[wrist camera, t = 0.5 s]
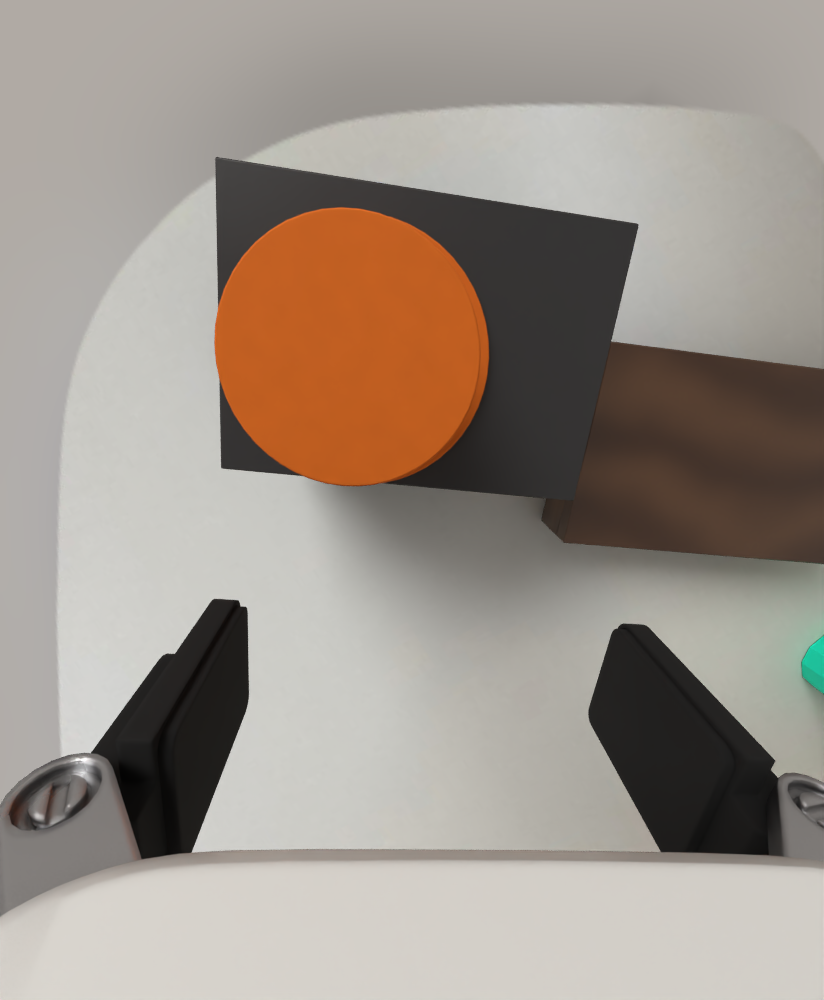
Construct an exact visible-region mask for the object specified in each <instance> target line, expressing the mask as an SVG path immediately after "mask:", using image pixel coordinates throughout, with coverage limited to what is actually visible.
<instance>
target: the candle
mask: <svg viewBox="0 0 824 1000" xmlns="http://www.w3.org/2000/svg"><path fill="white" fill-rule="evenodd" d="M802 675H803V677H804V678H805V679H806V680H807V681H808V682H809V683H810V684H811V685H812V686H813V687H815V688H816V689H817V690H819V691H820V692H821V693H823V694H824V636H823V637H821V638H820V639H819V640H818V641H817V642H815V643H814V644H813V645H812V646H810V648H809V649H808V651H807V653H806V655H805V657H804V659H803V661H802Z"/></svg>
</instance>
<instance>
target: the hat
mask: <svg viewBox="0 0 824 1000" xmlns="http://www.w3.org/2000/svg"><path fill="white" fill-rule="evenodd" d="M215 355H216V364H217V369H218V374H219V378H220V382H221V385H222V388H223V391H224V393H225V396H226V399H227V401H228V403H229V405H230V407H231V409H232V411H233V413H234V415H235V416H236V418H237V419H238V421H239V423H240V424H241V426H242V427H243V429H244V430H245V431H246V432H247V434H248V435H249V436H250V437H251V438H252V440H253V441H254V442H255V443H256V444H257V445H258V446H259V447H260V448H261V449H262V450H263V451H264V452H266V453H267V454H268V455H269V456H270V457H272V458H273V459H274V460H276V461H277V462H278V463H280V464H281V465H283V466H285V467H287V468H288V469H290V470H292V471H294V472H295V473H298V474H300V475H302V476H305V477H307V478H310V479H313V480H316V481H320V482H323V483H327V484H333V485H340V486H366V485H375V484H379V483H386V482H390V481H394V480H399V479H401V478H404V477H407V476H410V475H412V474H414V473H416V472H418V471H420V470H422V469H424V468H426V467H428V466H429V465H431V464H432V463H434V462H435V461H436V460H438V459H439V458H441V457H442V456H443V455H444V454H445V453H446V452H447V451H448V450H449V449H451V448H452V446H453V445H454V444H455V443H456V442H457V441H458V440H459V438H460V437H461V436H462V435H463V433H464V432H465V430H466V429H467V427H468V426H469V424H470V423H471V421H472V419H473V417H474V415H475V413H476V411H477V409H478V407H479V404H480V401H481V398H482V395H483V393H484V389H485V384H486V380H487V375H488V365H489V339H488V333H487V326H486V321H485V317H484V314H483V310H482V307H481V304H480V301H479V299H478V297H477V294H476V292H475V290H474V288H473V286H472V284H471V282H470V281H469V279H468V277H467V275H466V274H465V272H464V271H463V269H462V268H461V267H460V266H459V264H458V263H457V262H456V260H455V259H454V258H453V257H452V256H451V255H450V254H449V253H448V252H447V251H446V250H445V249H444V248H443V247H442V246H441V245H440V244H439V243H438V242H436V241H435V240H434V239H432V238H431V237H430V236H429V235H427V234H426V233H424V232H423V231H421V230H419V229H417V228H415V227H414V226H412V225H410V224H408V223H406V222H403V221H400V220H398V219H395V218H393V217H389V216H386V215H383V214H381V213H377V212H373V211H368V210H364V209H357V208H344V207H340V208H326V209H319V210H315V211H311V212H306V213H303V214H301V215H298V216H296V217H293V218H291V219H288V220H286V221H284V222H282V223H281V224H279V225H277V226H276V227H274V228H272V229H271V230H269V231H268V232H267V233H266V234H264V235H263V236H262V237H261V238H260V239H258V240H257V241H256V242H255V243H254V244H253V245H252V246H251V247H250V248H249V250H248V251H247V252H246V253H245V254H244V255H243V256H242V258H241V259H240V261H239V262H238V264H237V265H236V267H235V268H234V270H233V271H232V273H231V276H230V278H229V280H228V282H227V284H226V286H225V288H224V291H223V294H222V297H221V300H220V303H219V307H218V312H217V318H216V324H215Z"/></svg>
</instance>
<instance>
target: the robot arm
mask: <svg viewBox="0 0 824 1000" xmlns="http://www.w3.org/2000/svg"><path fill="white" fill-rule="evenodd" d="M248 699H249V675H248V613H247V608H246V607H240V603H239V601H238V600H224V599H213V600H212V601H211V603H210V604H209V605H208V607H207V608H206V610H205V611H204V613H203V614H202V616H201V617H200V618H199V620H198V621H197V623H196V624H195V626H194V627H193V629H192V630H191V631H190V633H189V634H188V636H187V637H186V639H185V640H184V642H183V643H182V645H181V646H180V647H179V649H178V650H177V652H176V653H175V654H165V655H163V656H162V657H161V658H160V659H159V661H158V662H157V663H156V665H155V666H154V667H153V669H152V670H151V672H150V673H149V674H148V676H147V677H146V678H145V680H144V681H143V682H142V684H141V685H140V687H139V688H138V689H137V691H136V692H135V693H134V695H133V696H132V698H131V699H130V700H129V702H128V703H127V704H126V706H125V707H124V709H123V710H122V711H121V713H120V714H119V715H118V717H117V718H116V719H115V721H114V722H113V724H112V725H111V726H110V728H109V729H108V730H107V732H106V733H105V735H104V736H103V737H102V739H101V740H100V741H99V743H98V744H97V746H96V747H95V748H94V750H93V751H92V752H91V753H80V754H73V755H68V756H65V757H62V758H59V759H56V760H53V761H51V762H49V763H47V764H45V765H43V766H41V767H39V768H37V769H36V770H34V771H33V772H31V773H30V774H29V775H27V776H26V777H25V778H23V779H22V780H21V781H19V782H18V783H17V784H16V785H15V786H14V788H13V789H11V791H10V792H9V793H8V794H7V795H6V796H5V798H4V799H3V801H2V803H1V804H0V1000H824V783H823V782H821V781H819V780H817V779H814V778H812V777H809V776H807V775H802V774H798V773H784V774H783V775H781V776H780V777H779V778H777V776H776V775H775V774H774V773H773V772H772V771H771V768H772V766H773V764H774V762H775V760H774V759H773V758H772V757H771V756H770V755H769V754H768V752H767V751H766V750H765V749H764V748H763V747H762V746H761V745H760V744H759V743H758V742H757V741H756V740H755V739H754V738H753V737H752V736H751V735H750V734H749V732H748V731H747V730H746V729H745V728H744V727H743V726H742V725H741V724H740V723H739V722H738V721H737V720H736V719H735V718H734V717H733V716H732V715H731V714H730V713H729V711H728V710H727V709H726V708H725V707H724V706H723V705H722V704H721V703H720V702H719V701H718V700H717V699H716V698H715V697H714V696H713V695H712V694H711V693H710V691H709V690H708V689H707V688H706V687H705V686H704V685H703V684H702V683H701V682H700V681H699V680H698V679H697V678H696V677H695V676H694V675H693V674H692V673H691V671H690V670H689V669H688V668H687V667H686V666H685V665H684V664H683V663H682V662H681V661H680V660H679V659H678V658H677V657H676V656H675V655H674V654H673V653H672V652H671V650H670V649H669V648H668V647H667V646H666V645H665V644H664V643H663V642H662V641H661V640H660V639H659V638H658V637H657V636H656V635H655V634H654V633H653V632H652V630H651V629H650V628H649V627H647V626H646V625H639V624H621V625H620V626H619V627H618V629H614V631H613V632H612V634H611V638H610V641H609V644H608V647H607V651H606V654H605V657H604V660H603V664H602V667H601V670H600V674H599V677H598V680H597V683H596V687H595V690H594V693H593V697H592V700H591V703H590V706H589V714H588V715H589V720H590V723H591V726H592V727H593V729H594V731H595V733H596V735H597V737H598V738H599V740H600V742H601V744H602V746H603V747H604V749H605V751H606V753H607V755H608V757H609V758H610V760H611V762H612V764H613V766H614V767H615V769H616V771H617V773H618V775H619V776H620V778H621V780H622V782H623V784H624V786H625V787H626V789H627V791H628V793H629V795H630V796H631V798H632V800H633V802H634V804H635V806H636V807H637V809H638V811H639V813H640V815H641V816H642V818H643V820H644V822H645V824H646V826H647V827H648V829H649V831H650V833H651V835H652V836H653V838H654V840H655V842H656V844H657V846H658V847H659V849H660V851H661V852H617V851H539V850H406V849H294V850H231V851H212V852H197V853H191V852H192V850H193V847H194V845H195V842H196V839H197V837H198V834H199V832H200V829H201V826H202V824H203V821H204V819H205V816H206V813H207V811H208V808H209V806H210V803H211V800H212V798H213V795H214V793H215V790H216V787H217V785H218V782H219V780H220V777H221V774H222V772H223V769H224V767H225V764H226V761H227V759H228V756H229V754H230V751H231V749H232V746H233V743H234V741H235V738H236V736H237V733H238V730H239V728H240V725H241V723H242V720H243V717H244V715H245V712H246V709H247V705H248Z"/></svg>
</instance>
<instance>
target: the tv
mask: <svg viewBox="0 0 824 1000" xmlns="http://www.w3.org/2000/svg"><path fill="white" fill-rule="evenodd" d="M340 207H344V208H357V209H364V210H368V211H373V212H377V213H381V214H383V215H386V216H389V217H393V218H395V219H398V220H400V221H403V222H406V223H408V224H410V225H412V226H414V227H415V228H417V229H419V230H421V231H423V232H424V233H426V234H427V235H429V236H430V237H431V238H432V239H434V240H435V241H436V242H438V243H439V244H440V245H441V246H442V247H443V248H444V249H445V250H446V251H447V252H448V253H449V254H450V255H451V256H452V257H453V258H454V259H455V260H456V262H457V263H458V264H459V266H460V267H461V268H462V269H463V271H464V272H465V274H466V275H467V277H468V279H469V281H470V282H471V284H472V286H473V288H474V290H475V292H476V294H477V297H478V299H479V301H480V304H481V307H482V310H483V314H484V317H485V321H486V326H487V333H488V339H489V365H488V375H487V380H486V384H485V389H484V393H483V395H482V398H481V401H480V404H479V407H478V409H477V411H476V413H475V415H474V417H473V419H472V421H471V423H470V424H469V426H468V427H467V429H466V430H465V432H464V433H463V435H462V436H461V437H460V438H459V440H458V441H457V442H456V443H455V444H454V445H453V446H452V448H451V449H449V450H448V451H447V452H446V453H445V454H444V455H443V456H442V457H441V458H439V459H438V460H436V461H435V462H434V463H432V464H431V465H429V466H428V467H426V468H424V469H422V470H420V471H418V472H416V473H414V474H412V475H410V476H407V477H404V478H401V479H399V480H394V481H390V482H386V483H385V484H396V485H407V486H418V487H429V488H440V489H450V490H461V491H472V492H483V493H494V494H505V495H516V496H526V497H537V498H548V499H559V500H570V501H573V500H574V496H575V492H576V488H577V484H578V479H579V475H580V471H581V467H582V462H583V458H584V454H585V450H586V445H587V441H588V437H589V433H590V429H591V424H592V420H593V416H594V412H595V407H596V403H597V399H598V395H599V390H600V386H601V382H602V378H603V374H604V369H605V365H606V361H607V357H608V352H609V348H610V344H611V340H612V335H613V331H614V327H615V323H616V319H617V314H618V310H619V306H620V302H621V297H622V293H623V289H624V285H625V280H626V276H627V272H628V268H629V264H630V259H631V255H632V251H633V247H634V242H635V238H636V234H637V230H638V224H636V223H630V222H623V221H617V220H611V219H604V218H598V217H592V216H585V215H579V214H573V213H567V212H560V211H554V210H548V209H541V208H535V207H529V206H522V205H516V204H510V203H503V202H497V201H491V200H484V199H478V198H472V197H466V196H459V195H453V194H447V193H440V192H434V191H428V190H421V189H415V188H409V187H402V186H396V185H390V184H383V183H377V182H371V181H365V180H358V179H352V178H346V177H339V176H333V175H327V174H320V173H314V172H308V171H301V170H295V169H289V168H282V167H276V166H270V165H264V164H257V163H251V162H245V161H238V160H232V159H226V158H219V157H216V214H217V267H218V307H219V303H220V300H221V297H222V294H223V291H224V288H225V286H226V284H227V282H228V280H229V278H230V276H231V273H232V271H233V270H234V268H235V267H236V265H237V264H238V262H239V261H240V259H241V258H242V256H243V255H244V254H245V253H246V252H247V251H248V250H249V248H250V247H251V246H252V245H253V244H254V243H255V242H256V241H257V240H258V239H260V238H261V237H262V236H263V235H264V234H266V233H267V232H268V231H269V230H271V229H272V228H274V227H276V226H277V225H279V224H281V223H282V222H284V221H286V220H288V219H291V218H293V217H296V216H298V215H301V214H303V213H306V212H311V211H315V210H319V209H326V208H340ZM220 426H221V468H223V469H233V470H244V471H255V472H266V473H277V474H288V475H298V476H302V475H300V474H298V473H295V472H294V471H292V470H290V469H288V468H287V467H285V466H283V465H281V464H280V463H278V462H277V461H276V460H274V459H273V458H272V457H270V456H269V455H268V454H267V453H266V452H264V451H263V450H262V449H261V448H260V447H259V446H258V445H257V444H256V443H255V442H254V441H253V440H252V438H251V437H250V436H249V435H248V434H247V432H246V431H245V430H244V429H243V427H242V426H241V424H240V423H239V421H238V419H237V418H236V416H235V415H234V413H233V411H232V409H231V407H230V405H229V403H228V401H227V399H226V396H225V393H224V391H223V388H222V385H221V382H220Z"/></svg>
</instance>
